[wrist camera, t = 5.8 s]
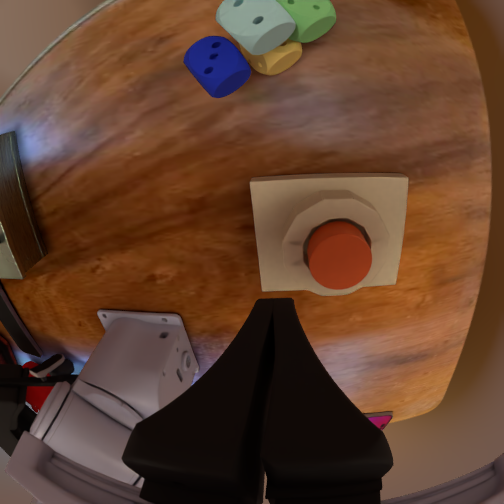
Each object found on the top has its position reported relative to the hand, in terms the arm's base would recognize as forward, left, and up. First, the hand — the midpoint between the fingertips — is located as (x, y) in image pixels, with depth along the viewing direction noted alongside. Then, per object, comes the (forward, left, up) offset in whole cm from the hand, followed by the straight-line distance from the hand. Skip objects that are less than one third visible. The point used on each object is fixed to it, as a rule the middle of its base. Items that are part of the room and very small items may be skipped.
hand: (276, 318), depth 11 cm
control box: (-3, +1, -9) cm, 10 cm away
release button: (-3, +1, -7) cm, 8 cm away
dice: (0, -12, -3) cm, 12 cm away
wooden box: (+27, -5, -9) cm, 29 cm away
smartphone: (+41, +12, -10) cm, 44 cm away
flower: (+42, +20, -5) cm, 46 cm away
